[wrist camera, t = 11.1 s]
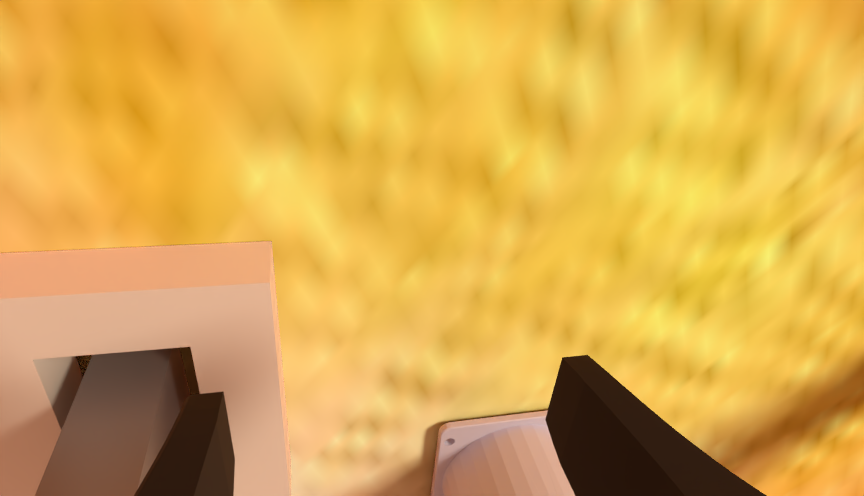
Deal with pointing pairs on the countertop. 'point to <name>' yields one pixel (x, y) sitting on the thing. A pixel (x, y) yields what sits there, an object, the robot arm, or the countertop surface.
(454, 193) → the countertop surface
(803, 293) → the countertop surface
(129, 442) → the key peg
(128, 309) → the socket block
